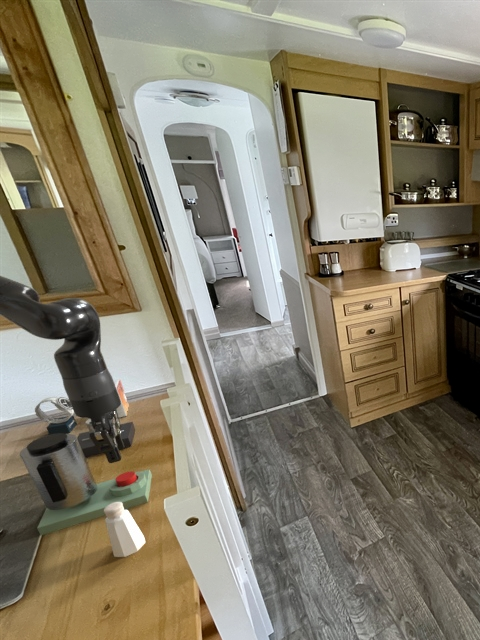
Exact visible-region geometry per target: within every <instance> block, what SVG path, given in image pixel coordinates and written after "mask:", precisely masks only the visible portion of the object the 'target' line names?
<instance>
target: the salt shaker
mask: <svg viewBox="0 0 480 640" xmlns="http://www.w3.org/2000/svg"><path fill="white" fill-rule="evenodd" d="M104 512H105V513H106V515H105V516H106V518H104V520H105V525H106V530H107V534H108V538H109V542H110V545H111V550H112V554H113V558H126V557H128V556H131V555H133V554H135V553H137V552H138V551H140V549H141V548H142V547H143V546H144V545H145V544H146V543H147V542H146V539H145V536H144V534H143V532H142V531H141V529H140V527H139V526H138V524H137V523H136V520H135V519H134V518H133V516H132V514H131V512H130V511H129V510H128V509H124V507H123V504H122V502H114V503H111V504H109V505H108V506H106V507H105V509H104Z"/></svg>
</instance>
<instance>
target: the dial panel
mask: <svg viewBox="0 0 480 640" xmlns="http://www.w3.org/2000/svg"><path fill="white" fill-rule="evenodd" d="M120 424H121V429H120V431H121V438H122V441H123V443H124V446H125V447H124V449H126V448H131V447H132V446H133V441H134V437H135V433H136V427H135V425H134V421H130V422H124V423H120ZM89 435H90V432H89V430H88V431H85V432H80V433H78V435H77V436H76V437H77V439H78V442H79V444H80V447H81V449H82V451H83V454H84V456H85V458H86V459H87V458H90V457H94V456H98V455H102V454H103V455H104V454H105V452H101V453H99V451H98V449H97V448H96V446H95V444H94V443H93V441H92V439H91V438H90V436H89ZM130 446H131V447H130Z"/></svg>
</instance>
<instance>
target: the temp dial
mask: <svg viewBox="0 0 480 640" xmlns="http://www.w3.org/2000/svg"><path fill="white" fill-rule="evenodd" d="M89 422H91V419H90V418H87V419H86V421H85V425H86V427H87V430H88V431H89V432H90V433H92V432H93V430H91V429H90V425H89Z"/></svg>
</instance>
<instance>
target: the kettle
mask: <svg viewBox="0 0 480 640" xmlns="http://www.w3.org/2000/svg"><path fill="white" fill-rule="evenodd" d="M77 437H78V436H77V435H75V434H72V433H67V434H64V433H57V434H51V435H49V434H48V435H43V436H42V437H38V438H36V439H34V440H32V441H31V442H29V443H28V444H27V445H26V446H25V447H24V448H23V449H21V450H20V452H19V456H20V458H21V461H23V465H24V466H25V468H26V470H27V472H28V474H29V476H30V478H31V480H32V482H33V484H34V486H35V488H36V490H37V492H38V494H39V496H40V498H41V499H42V502H43V504H44V506H45V508H48V509H50V510H61V509H66V508H69V507H72V506H75V505H77V504H79V503H81V502H83V501H85V500H87V499H88V498H90V497H91V496H92V495H93V494H94V493H95V492H96V491H97V488H98V487H97V484H98V483H97V482H96V480H95V477H94V475H93V473H92V470H91V468H90V465H89V463H88V461H87V457H86V458H85V456H84V454H83V451H82V449H81V447H80V444H79V442H78V439H77Z"/></svg>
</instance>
